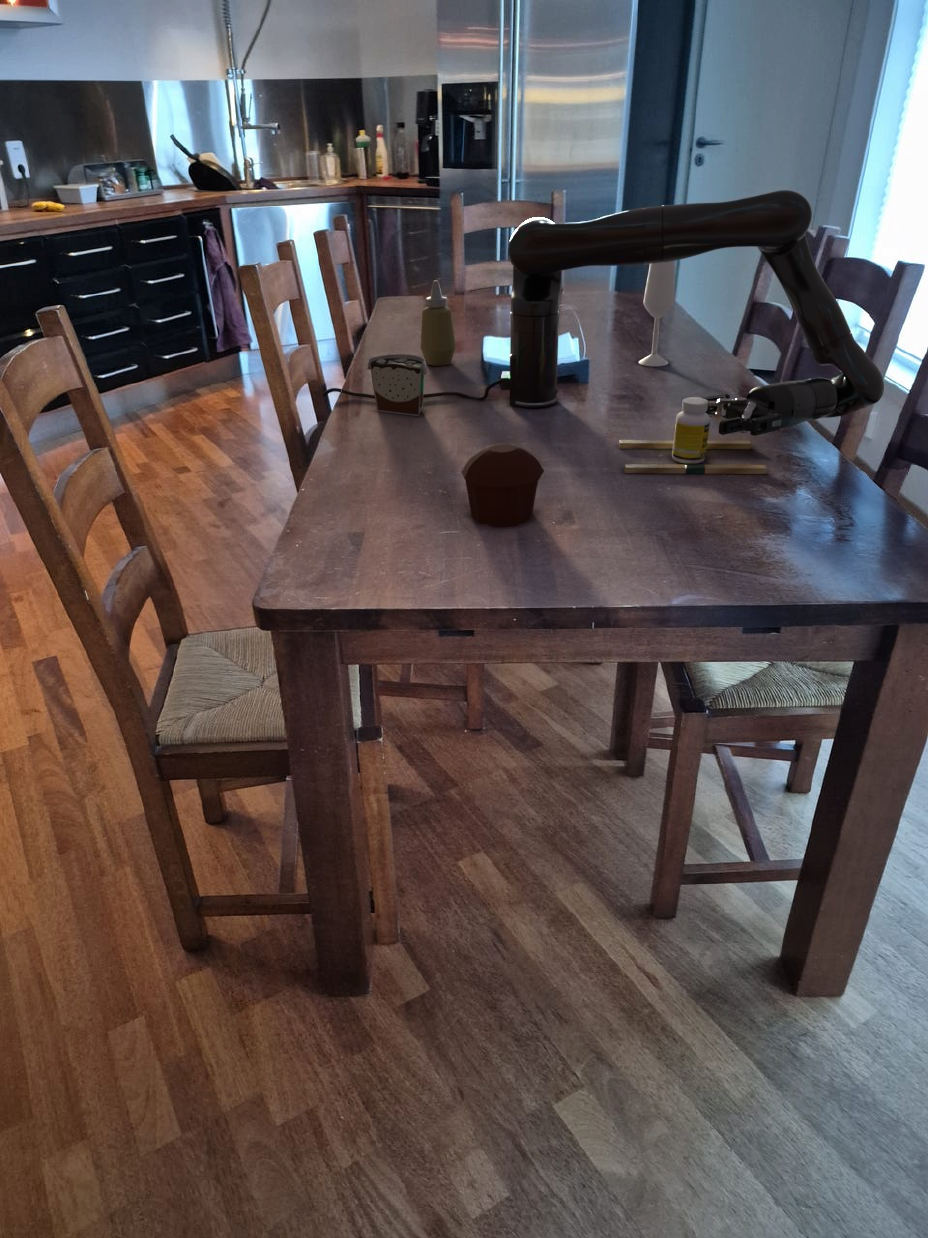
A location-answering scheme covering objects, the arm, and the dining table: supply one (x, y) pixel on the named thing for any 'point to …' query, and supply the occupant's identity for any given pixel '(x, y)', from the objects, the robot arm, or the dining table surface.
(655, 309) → the champagne flute
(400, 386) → the food container
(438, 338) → the squeeze bottle
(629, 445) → the lane
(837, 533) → the dining table surface
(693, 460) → the supplement bottle
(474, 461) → the muffin
